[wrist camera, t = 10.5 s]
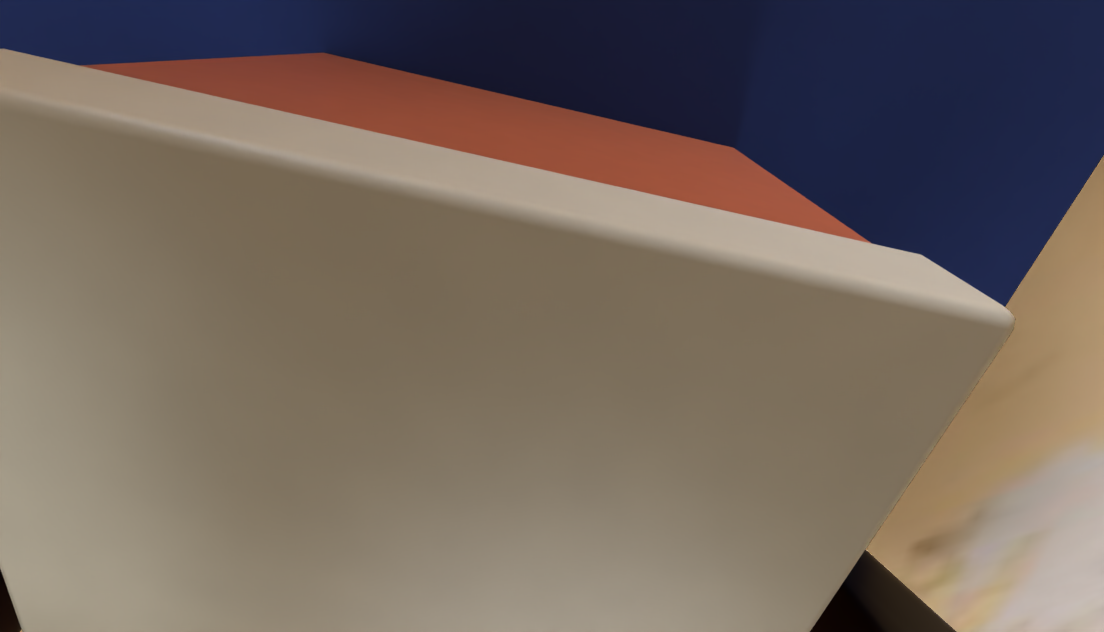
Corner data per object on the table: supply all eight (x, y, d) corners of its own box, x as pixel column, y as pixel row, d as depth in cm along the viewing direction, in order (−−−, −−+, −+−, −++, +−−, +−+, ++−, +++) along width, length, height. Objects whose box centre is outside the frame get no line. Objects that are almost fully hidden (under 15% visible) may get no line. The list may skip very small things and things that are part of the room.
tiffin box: (581, 598, 12) (583, 973, 7) (305, 549, 12) (114, 908, 7) (745, 142, 8) (1034, 317, 3) (313, 41, 8) (-200, 45, 3)
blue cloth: (742, 693, 14) (746, 706, 14) (110, 585, 13) (100, 597, 13) (1186, -4, 7) (1209, -6, 7) (-97, -337, 6) (-129, -354, 6)
